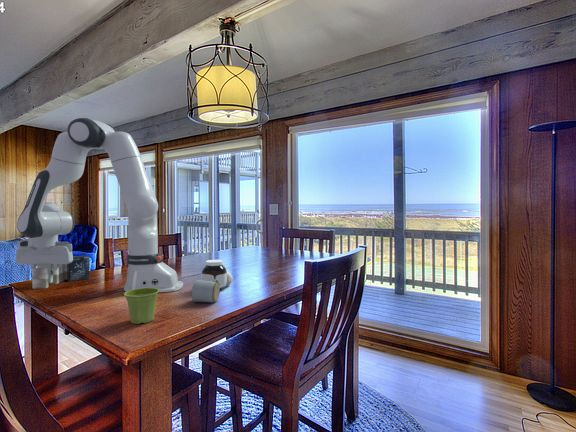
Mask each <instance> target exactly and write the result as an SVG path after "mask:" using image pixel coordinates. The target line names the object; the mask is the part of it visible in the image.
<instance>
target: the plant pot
mask: <svg viewBox="0 0 576 432" xmlns="http://www.w3.org/2000/svg"><path fill="white" fill-rule="evenodd" d="M158 293H160V292H159V289H157V288H139V289H133V290H130V291H127V292H126V291H124V293H123V296H124V297H125V299H126V301H127V307H128V312H129V318H130V323H132V324H134V325H140V324H148V323H150V322H152V321H154V318H155V311H156V310H155V309H156V304H157V298H158Z"/></svg>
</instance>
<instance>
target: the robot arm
mask: <svg viewBox="0 0 576 432" xmlns="http://www.w3.org/2000/svg"><path fill="white" fill-rule="evenodd" d="M92 150H94V151H105V152H106V153H107V155H108V158H109V161H110V164H111V166H112V169H113V171H114V175H115V177H116V180H117V182H118V183H117V184H118V186H119V188H120V193H121V195H122V198H123V201H124V203H125V206H126V209H127V212H128V215H127V216H128V218H127V219H128V220H127V226H128V227H127V255H126V269H127V272H126V274H127V275H126V280H125V283H124V288H123V291H124V292H127V291H130V290H133V289H139V288H157V289H159V292H158V293H169V292H176V291H178V290H180V289H182V288H183V287H184V283H183V281H182V280H178V274H177V271H176V270H175V269H174V268H172V267H170V266H169V265H167V264H166V263H165V262H164V254H161V253H159V252H158V251H159V244H158V243H159V241H158V239H159V237H158V235H159V233H158V211H159V203H158V200H157V197H156V194H155V192H154V188H153V186H152V183H151V180H150V179H149V175H148V173H147V170H146V168H145V164H144V161H143V158H142V156H141V154H140V153H141V152H140V151H139V148H138V146H137V144H136V142H135V141H134V138H133V136H132V135H131V134H130V133H128V132H125V131H117V129H116V128H114V127H113V126H112V125H111V124H109V123H104V122H103V121H100V120H97V119H91V118H86V117H79V118H75V119H73V120H71V122H69V124H68V126H67V130H66V131H63V132H61V133H58V135H57V138H56V139H55V142H54V146H53V149H52V152H51V157H50V161H49V163H48V165H47V166H46V167H45V168H44V169H43V170H41V171H39V172H38V174H37V175H36V177H35V179H34V181H33V184H32V186H31V189H30V192H29V193H28V194H29V195H28V197H27V200H26V203H25V205H24V208H23V209H22V212H21V213H20V215H19V217H18V219H17V222H16V228H17V230H18V232H19V233H20V234H22V236H24V237H25V238H27V239H24V240H19V241H18V242H17V243H16V245H17V247H18V248H17V249H16V252H15V263H16V264H17V265H21V266H22V265H30V266H29V267H30V269H31V270H32V269H34V268H37V264H53V267H54V269H53V270H51V275H55V274H57V269H58V268H59V266H60V264H69V263H71V262H72V261H73V256H74V255H73V244H72V243H71V242H69V241H59V236H60V235H61V236H62V235H66V234H67V235H68V234H70V233H71V232H73V230H74V228H75V224H76V223H75V222H76V221H75V217H74V216H73V215H72V214H71V213H70V212H68V211H65V210H63V209H60V208H59V207H58V206H57V204H55V203H54V202H53V203H52V202H46V200H47V198H48V195H49V193H51V191H53V190H54V189H56V188H58V187H61V186H65V185H68V184H72V183H75V182H76V181H78V180H80V178H82V176H83V174H84V171H85V166H86V162H87V161H86V160H87V156H88V153H89V152H90V151H92Z"/></svg>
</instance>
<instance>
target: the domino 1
mask: <svg viewBox="0 0 576 432" xmlns="http://www.w3.org/2000/svg"><path fill="white" fill-rule="evenodd" d="M31 275H32V276H31V282H32V285H31V286H32V289H36V290H37V289H47V288H49V284H48V268H37V267H36V268H34V269H31Z"/></svg>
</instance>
